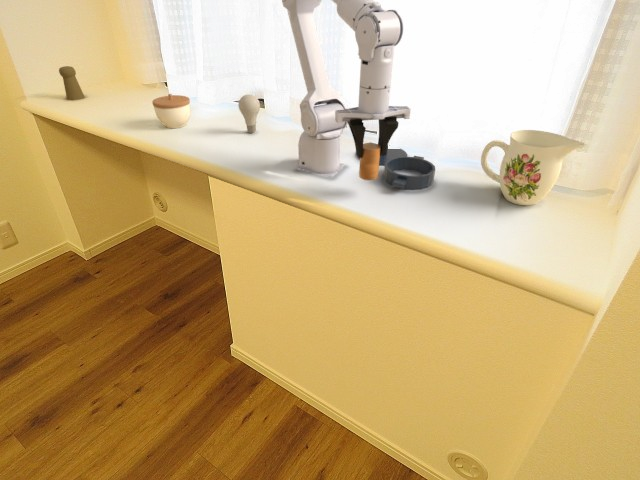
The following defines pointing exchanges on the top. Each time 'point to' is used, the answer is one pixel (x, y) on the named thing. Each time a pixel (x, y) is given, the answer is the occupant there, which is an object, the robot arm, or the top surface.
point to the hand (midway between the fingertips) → (369, 155)
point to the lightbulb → (249, 111)
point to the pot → (406, 180)
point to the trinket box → (172, 110)
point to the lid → (391, 155)
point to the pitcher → (529, 164)
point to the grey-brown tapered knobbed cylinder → (71, 83)
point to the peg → (369, 161)
